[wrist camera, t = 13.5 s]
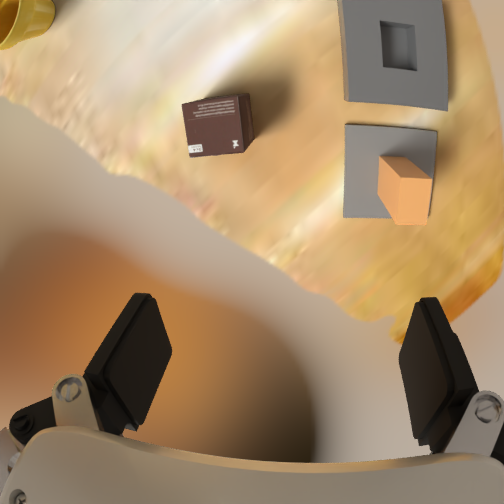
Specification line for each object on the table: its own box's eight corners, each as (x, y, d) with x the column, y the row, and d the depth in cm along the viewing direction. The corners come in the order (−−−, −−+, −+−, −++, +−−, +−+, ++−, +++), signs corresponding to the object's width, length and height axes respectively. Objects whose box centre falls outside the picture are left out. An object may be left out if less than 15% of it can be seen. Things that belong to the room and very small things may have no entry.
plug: (379, 155, 35) (400, 177, 27) (405, 157, 34) (432, 179, 27) (377, 194, 37) (395, 224, 30) (402, 194, 37) (426, 225, 29)
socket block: (336, -8, 26) (339, -16, 23) (430, 5, 24) (441, 0, 21) (344, 100, 33) (348, 101, 30) (436, 108, 31) (447, 111, 28)
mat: (344, 124, 34) (345, 124, 34) (435, 131, 32) (437, 131, 32) (343, 215, 40) (343, 217, 40) (426, 217, 38) (427, 219, 38)
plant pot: (75, 0, 28) (31, -6, 20) (42, 57, 33) (-4, 62, 24) (43, -19, 25) (1, -25, 17) (13, 33, 30) (-29, 37, 22)
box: (250, 93, 34) (239, 95, 28) (255, 140, 37) (245, 153, 31) (201, 98, 35) (180, 103, 29) (207, 144, 38) (188, 158, 32)
